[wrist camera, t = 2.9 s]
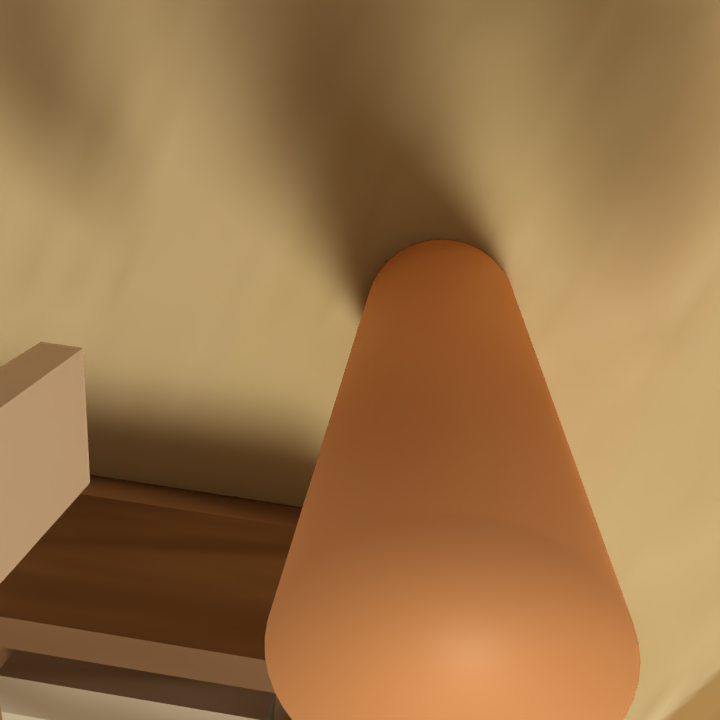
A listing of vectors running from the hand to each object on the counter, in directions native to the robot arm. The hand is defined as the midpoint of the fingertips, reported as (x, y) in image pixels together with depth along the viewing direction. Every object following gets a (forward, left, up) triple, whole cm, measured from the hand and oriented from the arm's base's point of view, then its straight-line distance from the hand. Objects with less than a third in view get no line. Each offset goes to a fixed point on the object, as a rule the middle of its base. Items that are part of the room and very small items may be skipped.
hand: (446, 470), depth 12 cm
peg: (0, 0, -7) cm, 7 cm away
